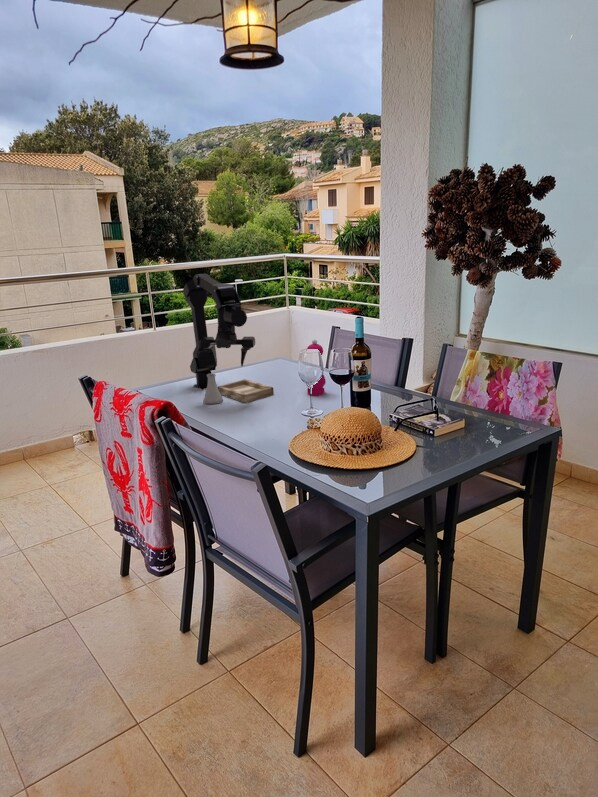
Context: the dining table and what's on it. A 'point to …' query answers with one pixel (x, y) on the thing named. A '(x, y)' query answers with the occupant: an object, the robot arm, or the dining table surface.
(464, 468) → the dining table surface
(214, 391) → the flask
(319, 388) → the pepper mill
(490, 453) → the dining table surface
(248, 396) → the serving tray
